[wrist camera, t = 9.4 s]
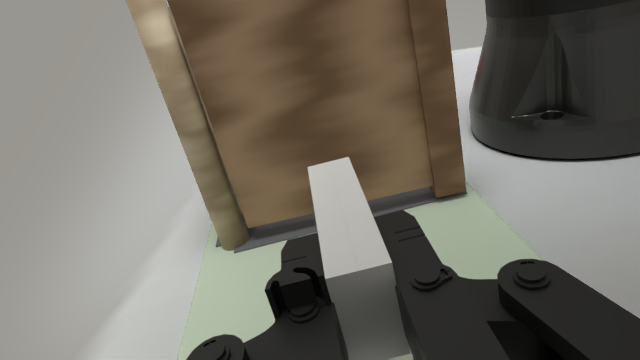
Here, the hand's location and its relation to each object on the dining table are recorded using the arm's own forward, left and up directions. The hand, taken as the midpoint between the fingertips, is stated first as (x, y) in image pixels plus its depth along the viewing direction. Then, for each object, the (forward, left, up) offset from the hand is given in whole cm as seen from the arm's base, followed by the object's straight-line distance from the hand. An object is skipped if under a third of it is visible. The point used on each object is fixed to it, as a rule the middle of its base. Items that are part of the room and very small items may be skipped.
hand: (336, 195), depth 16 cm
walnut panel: (-1, -10, -6) cm, 12 cm away
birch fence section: (+7, -16, -7) cm, 19 cm away
